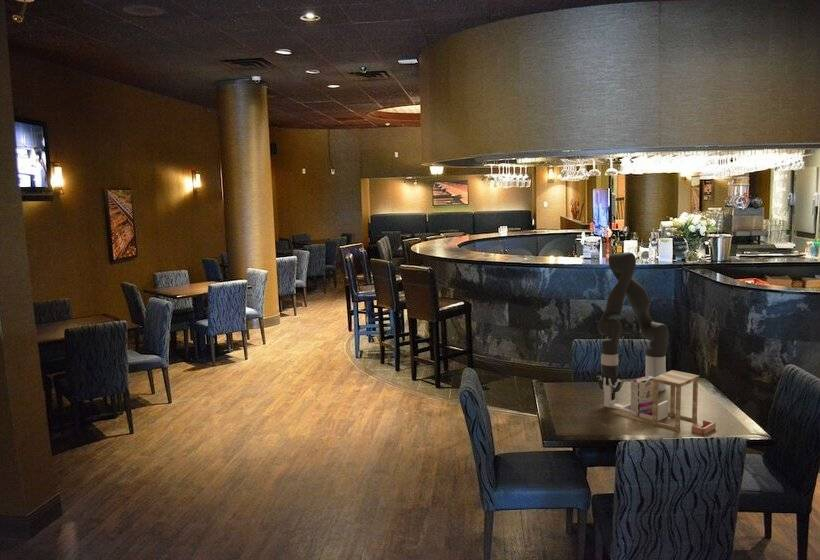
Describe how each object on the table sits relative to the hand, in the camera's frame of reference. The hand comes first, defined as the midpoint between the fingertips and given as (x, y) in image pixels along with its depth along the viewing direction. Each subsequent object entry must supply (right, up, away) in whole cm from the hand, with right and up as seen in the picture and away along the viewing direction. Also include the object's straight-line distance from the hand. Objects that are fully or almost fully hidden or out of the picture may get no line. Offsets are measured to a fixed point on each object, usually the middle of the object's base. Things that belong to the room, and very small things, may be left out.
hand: (609, 399), depth 310 cm
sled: (+8, -4, -9) cm, 13 cm away
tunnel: (+15, -5, -17) cm, 23 cm away
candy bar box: (+11, -5, -13) cm, 17 cm away
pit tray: (+29, -7, -33) cm, 45 cm away
